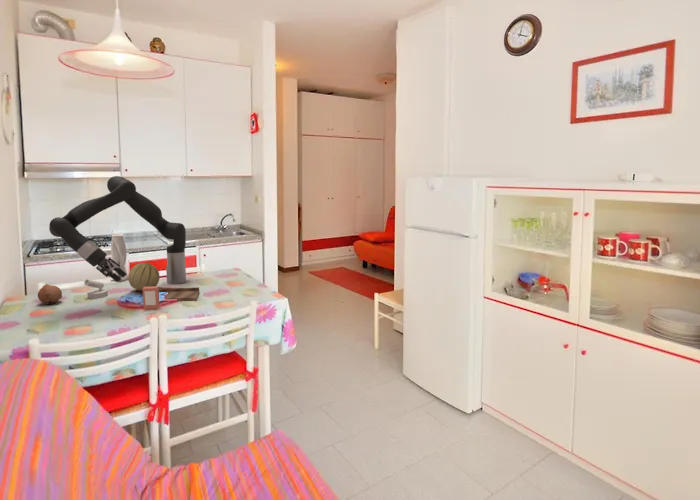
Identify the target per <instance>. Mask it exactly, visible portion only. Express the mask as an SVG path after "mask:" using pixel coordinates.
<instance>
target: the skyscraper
mask: <svg viewBox="0 0 700 500" xmlns="http://www.w3.org/2000/svg"><path fill="white" fill-rule="evenodd" d="M110 244H111V246H110V248H111V249H110V253H111V257H112V258H111V259H112V260H114V261H115V262H116V263H118V264H119V265H120V269H121V270H123V271H124V272H125V273H126V275H125V276H124V277H122V276H120V275H119V274H118V273H117V272H115V271H114V273H115V274H116V275H118V276H119V277H120V278H121V280H120V281H118V282H116V281H115V280H114V279H111V280H110V282H116V283H123V282H126V281H129V280H128V275H129V274H128V273H127V270H126V264H127V263H126V262H127V246H126V245H127V244H126V242H125V238H124V233H123V232H121V233H120V232H115V233H114V230H111V242H110Z"/></svg>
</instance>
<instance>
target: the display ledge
mask: <svg viewBox="0 0 700 500" xmlns="http://www.w3.org/2000/svg"><path fill="white" fill-rule="evenodd" d="M158 291H159V292H168V294H167V297H166V298H165V299H177V301H176V302H190V301H191V302H193V301H197V299H198V297H199V295H200V287H198V286H197V287H174V288H173V287H172V288H171V287H170V288H158Z"/></svg>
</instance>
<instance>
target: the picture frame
mask: <svg viewBox="0 0 700 500" xmlns="http://www.w3.org/2000/svg"><path fill="white" fill-rule="evenodd" d="M158 289H159V286H158V285H157V286H151V287H143V291H142V299H143V301H142V302H143V310H144V309H153V310H159V309H160V302H159V291H158ZM158 308H159V309H158Z"/></svg>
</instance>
